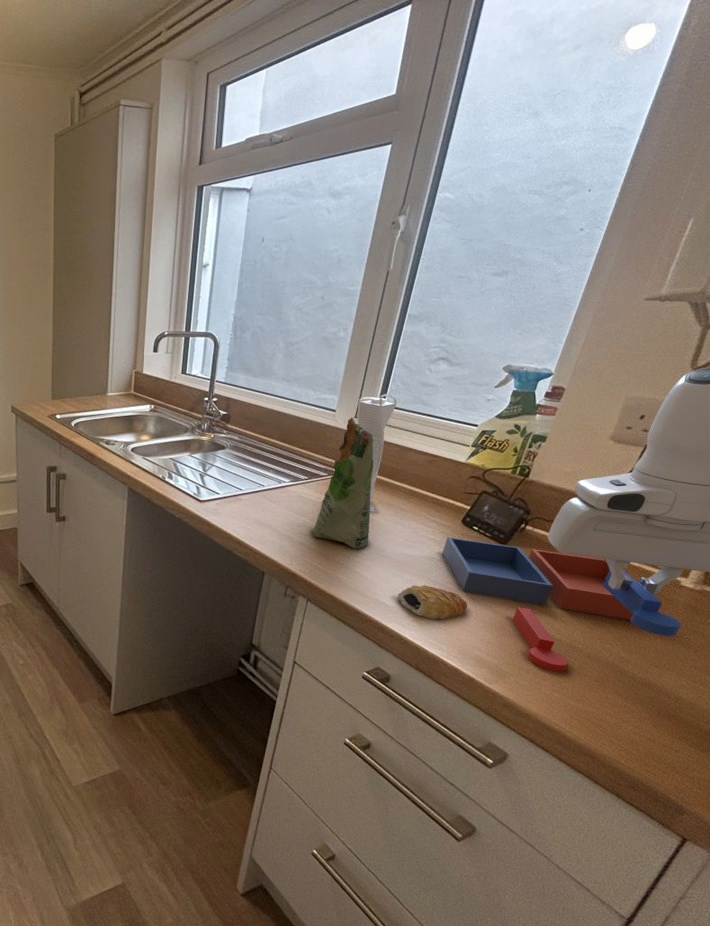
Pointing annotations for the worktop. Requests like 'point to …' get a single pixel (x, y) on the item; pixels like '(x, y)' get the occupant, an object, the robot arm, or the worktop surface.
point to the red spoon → (538, 641)
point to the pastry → (432, 602)
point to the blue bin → (496, 570)
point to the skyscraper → (375, 428)
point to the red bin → (579, 583)
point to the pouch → (349, 491)
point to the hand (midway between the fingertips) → (631, 590)
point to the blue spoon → (644, 608)
